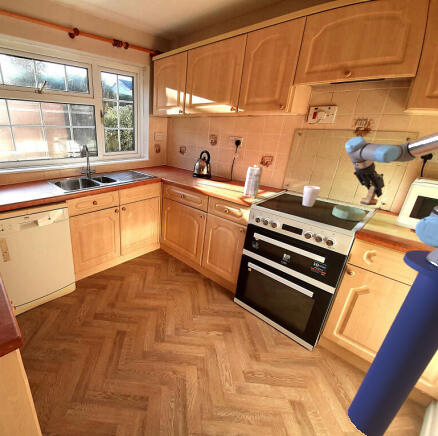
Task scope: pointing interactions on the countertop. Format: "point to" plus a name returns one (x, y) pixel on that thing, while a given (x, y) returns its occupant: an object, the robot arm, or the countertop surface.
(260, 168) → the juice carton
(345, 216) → the bowl
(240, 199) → the countertop surface
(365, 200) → the dish brush
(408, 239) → the countertop surface
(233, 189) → the countertop surface
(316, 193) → the foam cup
